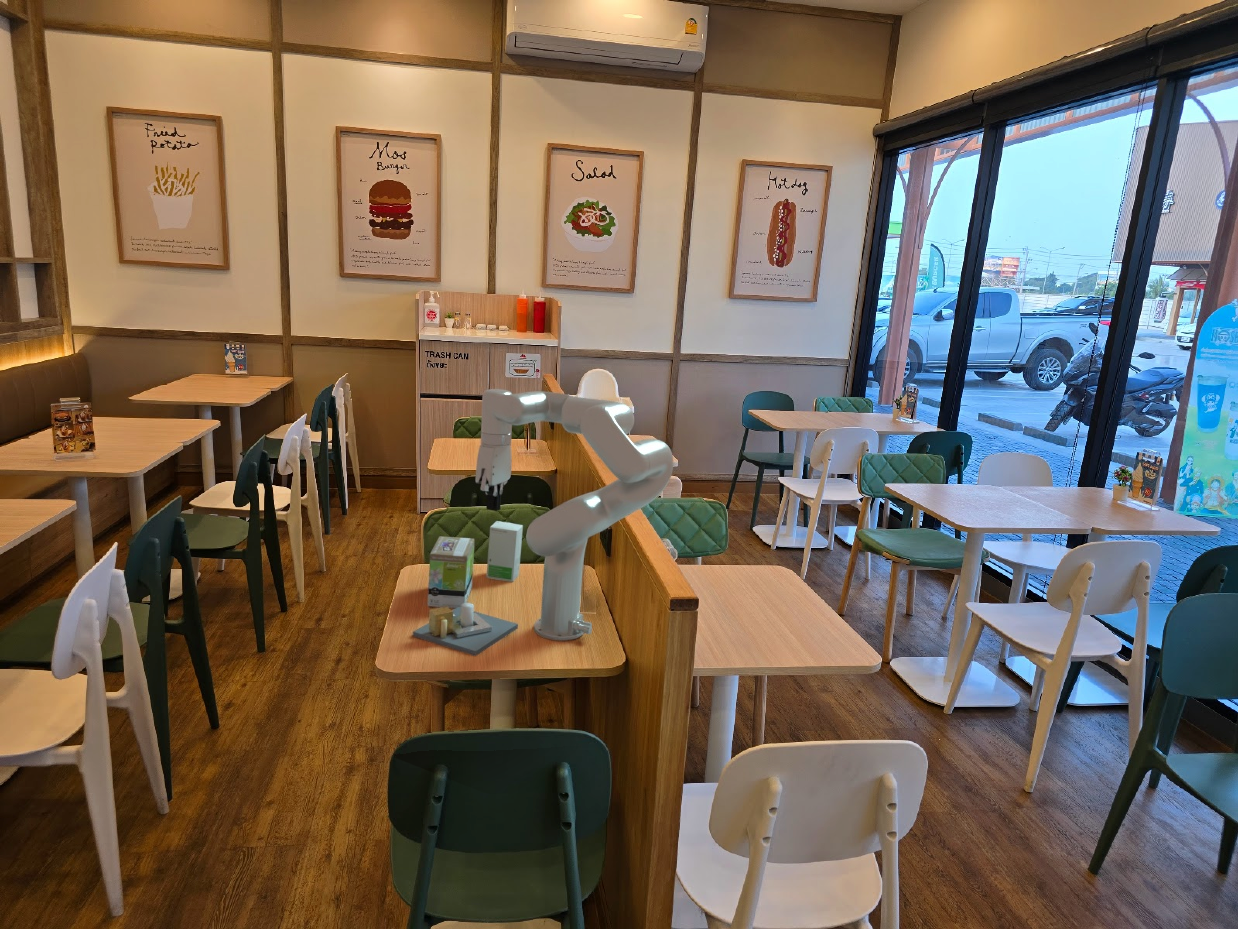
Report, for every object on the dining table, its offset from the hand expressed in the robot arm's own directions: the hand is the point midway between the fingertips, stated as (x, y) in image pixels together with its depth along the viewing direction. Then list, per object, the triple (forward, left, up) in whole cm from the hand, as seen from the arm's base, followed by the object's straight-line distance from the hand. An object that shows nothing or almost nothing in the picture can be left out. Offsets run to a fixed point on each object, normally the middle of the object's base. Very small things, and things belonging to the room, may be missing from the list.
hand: (493, 509), depth 208 cm
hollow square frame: (-3, +17, -25) cm, 31 cm away
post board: (-4, +15, -27) cm, 31 cm away
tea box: (+12, 0, -27) cm, 30 cm away
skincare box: (+9, -21, -27) cm, 35 cm away
